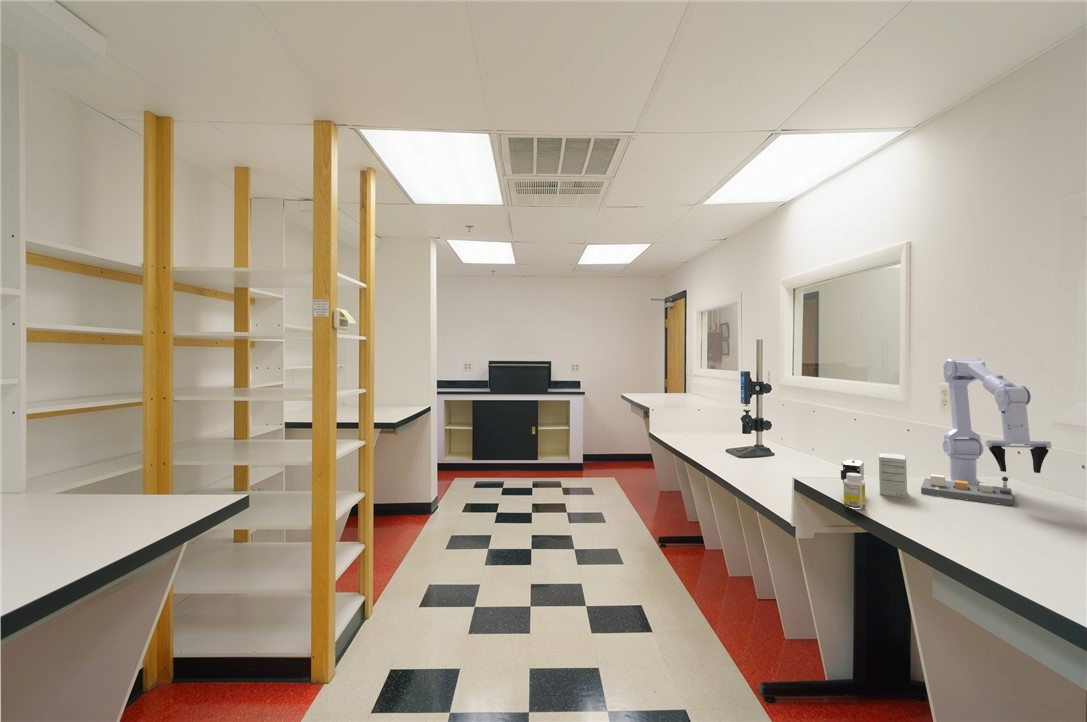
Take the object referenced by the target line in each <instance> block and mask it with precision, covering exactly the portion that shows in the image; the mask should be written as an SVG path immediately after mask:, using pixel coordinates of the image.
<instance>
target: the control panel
mask: <svg viewBox="0 0 1087 722" xmlns="http://www.w3.org/2000/svg"><path fill="white" fill-rule="evenodd" d="M920 494H922V495H929V496H934V497H935V496H938V497H944V498H950V497H952V499H958V498H961V499H960V500H965V499H968V501H972V500H976V501H975V502H980V501H983V502H982V503H987V502H990V504H994V503H999V504H998V505H1002V504H1005V505H1004V506H1009V505H1013V506H1014V498H1013V493H1012V488H1011V487H1007V488H1005V487H1003V486H1001V487H1000V486H994V485H993V493H988V492H980V491H979V483H978V484H969V483H968V490H964V489H956V488H955V482H952V481H948V480H945V486H936V485H931V478H924V480H923V482H922V484H921V486H920Z"/></svg>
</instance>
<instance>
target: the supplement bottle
mask: <svg viewBox="0 0 1087 722" xmlns="http://www.w3.org/2000/svg"><path fill="white" fill-rule="evenodd" d="M846 477H847V478H846V479H845V480H844V483H843V502H844V503H843V505H844V504H845V505H847V506H848V507H853V508H866V482H865V481H864V480H863V481H862V475H861V474H858V473H847V474H846ZM845 505H844V506H845Z"/></svg>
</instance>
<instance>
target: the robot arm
mask: <svg viewBox="0 0 1087 722" xmlns="http://www.w3.org/2000/svg"><path fill="white" fill-rule="evenodd" d="M986 366H987V365H986V362H985V361H984V360H983V359H982V358H979V357H976V358H948V359H946V361H945V362H944V364H943V366H942V367H943V377H944V382H946V383H948V389H949V391H948V392H949V401H950V402H949V403H950V404H949V405H950V413H951V424H952V429H951V430H949V431H947V432H946V433H945V434H943V442H942V449H943V451H944V453H945V454H946V456H948V457H949V475H948V476H949V477H948V480H947V481H952V482H955V480H959V481H968V483H969V484H978V485H979V478H978V477H977V474H978V473H977V471H978V469H977V468H978V467H977V459H980V457H981V456H982V455H983V453H984V447H987V448H988V451H990V453H991V454H992V456H993V457H994V458H995V461H996V463H997V464H998V467H999V470H1000V472H1003V473H1006V472H1007V464H1006V449H1005V448H1023V449H1024V448H1026V449H1027V448H1029V451H1030V453H1031V458H1032V466H1033V467H1032V468H1033V472H1034V473H1036V474H1041V471H1042V470H1041V469H1042V466H1043V462H1044V460H1045V458H1046V456H1047V455H1048V453H1049V449H1052V442H1051V441H1039V440H1037V441H1036V440H1031V437H1030V428H1029V418H1028V409H1027V405H1029V404H1030V402H1031V398H1032V395H1031V392H1030V390H1029V389H1028V388H1027V386H1025V385H1015V384H1014V383H1013V382H1011V381H1009V380H1008V379H1007V378H1005V377H1004V374H1001V373H1000V374H994V373H993V372H991V371H990V370H989V369H988V368H987V367H986ZM976 380H979V381H980V382H982V386H983V388H984V389H985V390H986V391H988V392H989V393H990V394H992V395H993V397H994V401H995V403H996V405H997V409H998V411H1000V416H1001V424H1002V425H1001V426H1002V436H1003V440H1000V439H997V440H992V439H991V440H988V439H987V440H986V439H985V440H984V445H983V443H982V439H981V435H980V434H978V433H977V432H975V431H974V430H973V429H972V423H971V412H970V401H969V391H968V390H969V389H968V387H969V384H970V383H973V382H976Z"/></svg>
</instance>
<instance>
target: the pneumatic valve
mask: <svg viewBox="0 0 1087 722" xmlns="http://www.w3.org/2000/svg"><path fill="white" fill-rule="evenodd" d="M841 465H842V468H841V469H840V480H841V481H842V484H844V480H845V479H846V478H847V477H846V474H847V473H858V474H861V475H862V481H864V480H865V473H864V471H865V468H864V466H865V465H864V461H863V460H857V459H856V460H855V459H854V458H852V459H846V461H842V462H841Z"/></svg>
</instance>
